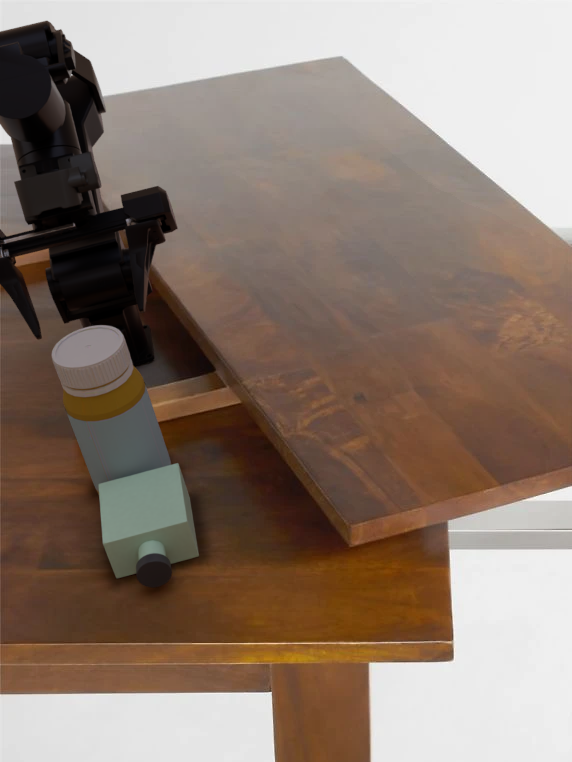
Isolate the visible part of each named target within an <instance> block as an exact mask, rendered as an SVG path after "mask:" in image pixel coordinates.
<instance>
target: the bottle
mask: <svg viewBox="0 0 572 762" xmlns="http://www.w3.org/2000/svg"><path fill="white" fill-rule="evenodd" d="M51 360H52V361H51V362H52V363H53V367H54V369H55V371H56V375H57V376H58V379H59V381H60V384H61V387H62V389H63V391H62V403H63V406H64V410H65V412H66V415H67V418H68V420H69V423H70V426H71V428H72V431H73V434H74V436H75V439H76V441H77V444H78V446H79V450H80V452H81V454H82V458H83V461H84V463H85V465H86V468H87V471H88V473H89V476H90V479H91V481H92V483H93V486H94V488H95V490H96V493H97V494H98V495H99V486H98V485H99V484H100V483H104V482H108V481H112V480H116V479H119V478H123V477H127V476H131V475H134V474H138V473H142V472H146V471H149V470H153V469H157V468H161V467H165V466H168V465H172V462H171V457H170V454H169V451H168V448H167V446H166V443H165V440H164V436H163V433H162V430H161V428H160V425H159V421H158V418H157V415H156V411H155V409H154V406H153V402H152V400H151V397H150V394H149V391H148V388H147V384H146V382H145V379H144V377H143V375H142V374H141V372H140V371H139V370H138V369H137V368H136V366H133V363H132V360H131V357H130V353H129V350H128V347H127V344H126V341H125V338H124V336H123V334H122V333H121V331H120V330H118V329H117V328H115V327H112V326H106V325H97V326H90V327H85V328H83V327H81V328H79V329H76V330H74V331H73V332H70V333H68V334H67V335H65V336H64V337H62V338H61V339H60V340H59V341H58V342H56V344H54V346H53V349H52V351H51Z"/></svg>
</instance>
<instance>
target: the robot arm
mask: <svg viewBox="0 0 572 762" xmlns="http://www.w3.org/2000/svg"><path fill="white" fill-rule="evenodd" d="M105 113H107V108H106V103H105V100H104V96H103V93H102V89H101V86H100V84H99V80H98V77H97V75H96V71H95V69H94V67H93V63H92V61H91V60H90V59H89V58H88V57H86V56H84V55H83V54H81V53H80V52H78V51H77V50H75V49H74V46H73V43H72V41H70V40H69V39H67V36H66V34H65V33H64V32H63V29H62V28H60V29H56V27H55V26H54V25H53V23H51V22H50V21H49V20H43V21H40V22H34V23H31V24H26V25H22V26H17V27H14V28H13V27H12V28H8V29H5V30H1V31H0V126H1V129H3V131H4V132H5V133H6V134H7V136H9V137H10V141H11V145H12V148H13V154H14V157H15V161H16V166H17V169H18V173H19V177H20V179H19V180H14V181H13V183H14V186H15V191H16V195H17V198H18V200H19V204H20V208H21V210H22V214H23V217H24V221H25V223H26V224H27V225H28V226H32V227H31V228H32V229H31V230H27V231H23V232H19V233H14V234H10V235H6V234H5V232H3V230H2V229H1V228H0V286H1V287H2V288H3V289H4V291H5V293H6V294H7V295H8V296H9V297H10V299H11V301H12V302H13V304H14V305H15V307H16V308H17V310H18V312H19V313H20V314H21V316H22V319H24V321H25V323H26V324H27V326H28V328H29V329H30V330H31V333H32V335H33V336H34V338H36V340H42V339H43V334H42V330H41V329H42V328H41V324H40V321H39V318H38V315H37V313H36V310H35V306H34V302H33V301H32V297H31V295H30V292H29V289H28V286H27V283H26V280H25V278H24V274H23V273H22V271H21V270H20V269H19V268H18V267H17V266H16V263H17V260H16V257H20V256H24V255H28V254H32V253H37V252H41V251H44V250H48V256H49V258H48V259H49V267H46V268H45V271H44V272H45V278H46V282H47V286H48V290H49V293H50V295H51V298H52V301H53V303H54V304H55V307H56V309H57V312H58V314H59V315H60V318H61V320H62V322H63V323H64V325H66V324H69V323H70V322H73V321H74V322H75V321H78V320H79V321H80V323H81V328H85V327H90V326H97V325H106V326H112V327H115V328H117V329H118V330H120V331H121V333H122V334H123V336H124V338H125V341H126V344H127V347H128V350H129V353H130V357H131V360H132V363H133V366H134V367H136V366H139V365H142V364H143V365H144V364H147V363H150V362H153V361H154V360H155V352H154V351H155V350H154V343H153V337H152V330H151V327H150V325H149V324H143V323H142V320H141V316H140V314H144V313H145V312H146V306H147V304H148V300H147V297H149V295H151V294H152V293H153V287H152V284H151V281H150V271H151V267H152V263H153V259H154V255H155V251H156V248H157V246H158V245H163V244H164V243H166V235H165V234H170V233H173V232H175V231H176V230H178V229H179V228H178V224H177V220H176V216H175V213H174V209H173V205H172V203H171V200H170V198H169V196H168V192H167V190H165V189H164V188H162V187H161V186H159V185H156V186H155V185H154V186H151V187H147V188H144V189H139V190H135V191H131V192H127V193H123V194H120V200H121V205H122V207H119V208H116V209H111V210H108V211H104V205H103V199H102V195H101V188H102V186H103V185H102V182H101V178H100V174H99V170H98V167H97V165H96V161H95V156H94V151H93V147H94V146H95V145H96V143H97V142H98V141H99V140H100V139H101V137H102V135H103V134H104V133H105V129H104V122H103V118H102V114H105ZM121 231H125V237H126V242H127V246H128V247H126V246H125V245H124V242H123V238H122V236H121V234H120V232H121Z"/></svg>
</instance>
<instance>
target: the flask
mask: <svg viewBox="0 0 572 762" xmlns="http://www.w3.org/2000/svg"><path fill="white" fill-rule="evenodd" d="M171 464H172V463H171ZM98 486H99V494H98V497H99V510H100V525H101V537H102V545H103V548H104V550H105V553H106V556H107V558H108V561H109V563H110V566H111V568H112V571H113V574H114V576H115V578H116V579H120V578H121V579H122V578H125V577H129V576H131V575H135V574H136V579H137V582H138V583H140V585H142V586H144V587H146V588H159V587H162V586H164V585H166V584H167V583H168V582H169V581H170V580H171V578H172V576H173V569H172V565H173V564H176V563H179V562H184V561H187V560H192V559H195V558H198V557H200V554H199V546H198V541H197V535H196V527H195V522H194V515H193V509H192V503H191V497H190V495H189V494H190V493H189V492H188V488H187V485H186V482H185V479H184V475H183V473H182V469H181V467H180V464H179V463H178V462H177V463H173V464H172V465H168V466H165V467H161V468H157V469H153V470H149V471H146V472H142V473H138V474H134V475H131V476H127V477H123V478H119V479H116V480H112V481H108V482H104V483H100V484H99V485H98Z"/></svg>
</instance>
